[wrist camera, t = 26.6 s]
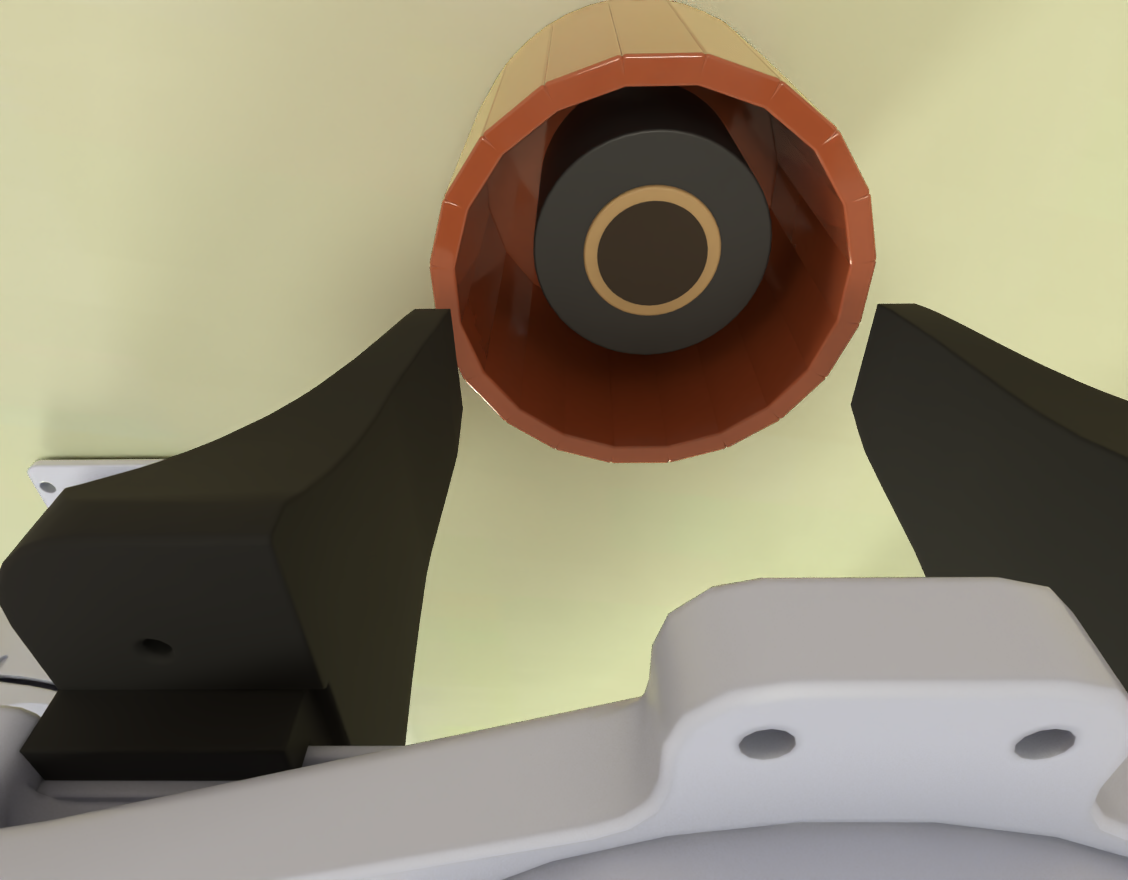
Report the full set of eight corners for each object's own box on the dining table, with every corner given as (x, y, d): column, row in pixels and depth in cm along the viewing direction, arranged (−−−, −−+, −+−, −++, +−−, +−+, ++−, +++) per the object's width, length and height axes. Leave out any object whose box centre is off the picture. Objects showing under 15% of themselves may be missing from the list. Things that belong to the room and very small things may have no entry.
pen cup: (764, 318, 23) (825, 462, 17) (484, 321, 23) (456, 465, 17) (817, -7, 17) (932, 48, 12) (455, -1, 18) (400, 58, 12)
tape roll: (725, 275, 21) (755, 357, 18) (543, 277, 21) (537, 359, 18) (749, 77, 18) (792, 128, 14) (536, 81, 18) (527, 132, 14)
